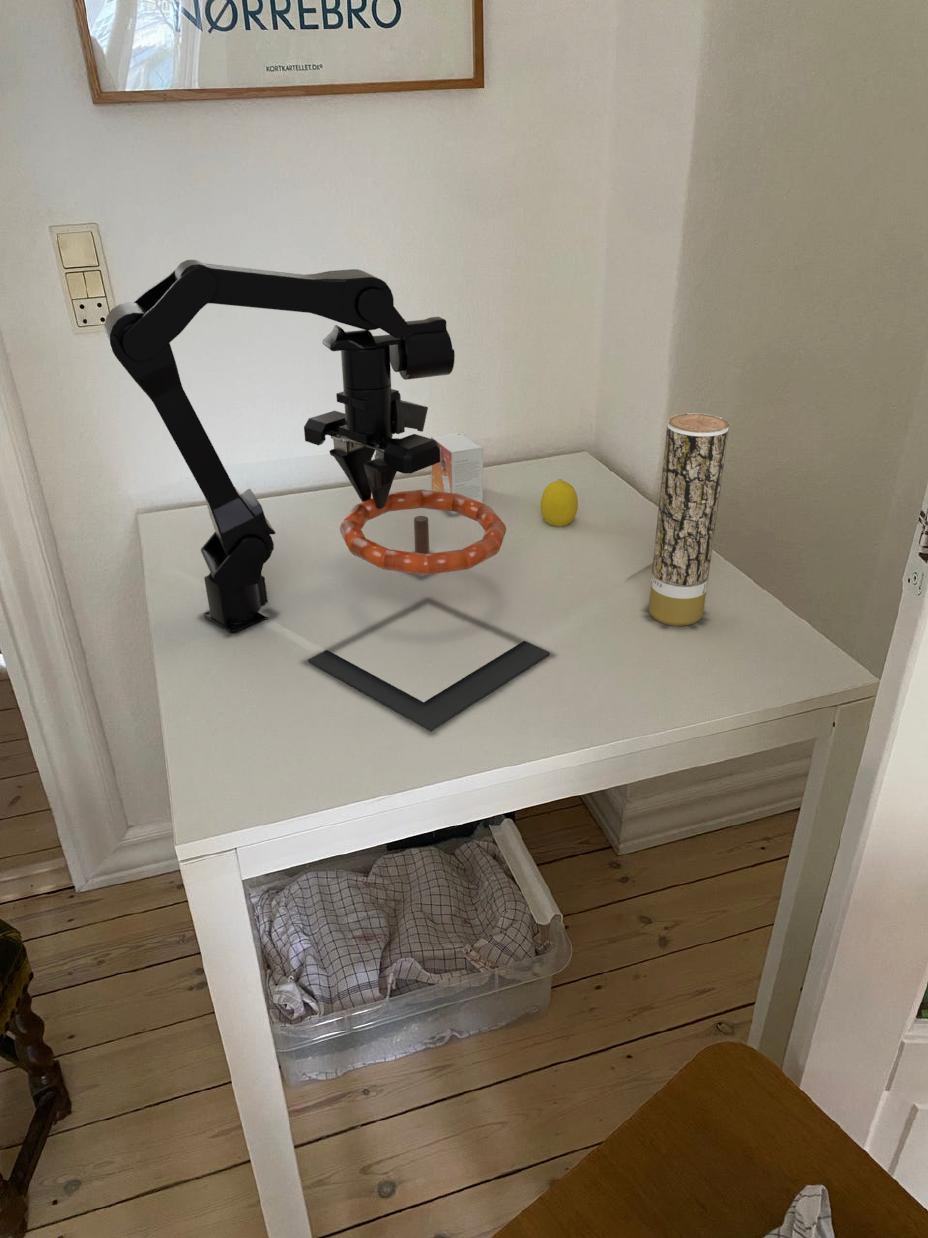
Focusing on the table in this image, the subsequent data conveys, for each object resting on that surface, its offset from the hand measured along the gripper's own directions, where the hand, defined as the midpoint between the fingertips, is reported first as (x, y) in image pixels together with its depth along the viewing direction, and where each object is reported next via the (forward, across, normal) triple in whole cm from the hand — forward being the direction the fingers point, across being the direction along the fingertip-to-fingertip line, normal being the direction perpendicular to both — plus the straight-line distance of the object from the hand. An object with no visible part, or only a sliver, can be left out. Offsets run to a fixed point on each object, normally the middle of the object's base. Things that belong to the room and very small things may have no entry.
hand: (373, 505), depth 117 cm
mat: (+12, -17, +9) cm, 23 cm away
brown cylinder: (+12, 0, -9) cm, 15 cm away
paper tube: (+12, -34, -19) cm, 41 cm away
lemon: (+12, -7, -31) cm, 34 cm away
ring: (+1, -9, 0) cm, 9 cm away
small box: (+12, +11, -28) cm, 32 cm away
